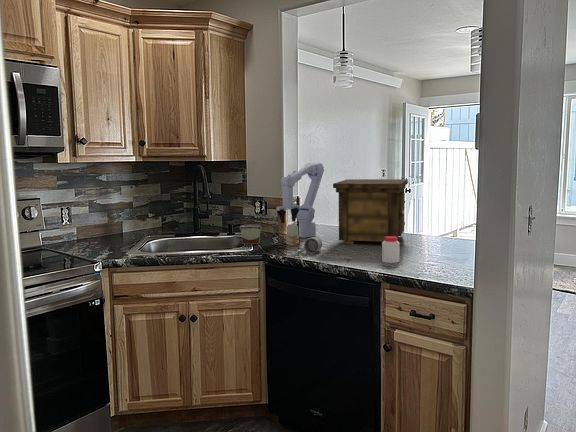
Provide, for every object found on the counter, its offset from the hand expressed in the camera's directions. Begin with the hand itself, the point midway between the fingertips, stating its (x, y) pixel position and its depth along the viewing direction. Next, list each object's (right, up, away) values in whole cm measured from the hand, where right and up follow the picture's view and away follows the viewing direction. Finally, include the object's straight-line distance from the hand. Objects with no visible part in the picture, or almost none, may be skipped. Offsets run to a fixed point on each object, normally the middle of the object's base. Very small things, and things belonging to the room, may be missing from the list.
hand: (288, 222), depth 270 cm
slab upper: (+2, -9, -10) cm, 14 cm away
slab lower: (+2, -12, -9) cm, 15 cm away
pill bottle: (+46, -17, -54) cm, 73 cm away
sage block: (+2, -7, -10) cm, 12 cm away
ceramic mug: (+11, -15, -30) cm, 35 cm away
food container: (-20, -12, -3) cm, 23 cm away
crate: (+46, -10, -4) cm, 47 cm away
